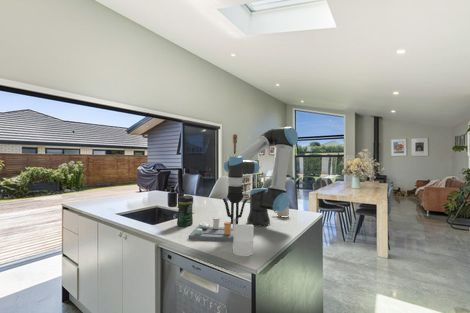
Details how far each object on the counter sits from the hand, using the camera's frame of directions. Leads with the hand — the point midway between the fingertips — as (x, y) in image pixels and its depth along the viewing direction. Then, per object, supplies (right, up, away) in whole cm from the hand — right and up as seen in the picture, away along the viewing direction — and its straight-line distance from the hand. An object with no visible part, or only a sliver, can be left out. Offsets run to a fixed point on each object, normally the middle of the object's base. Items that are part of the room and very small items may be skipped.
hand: (234, 230), depth 125 cm
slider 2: (-4, -2, 0) cm, 4 cm away
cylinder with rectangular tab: (+4, -4, -18) cm, 19 cm away
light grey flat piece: (-17, 0, +11) cm, 21 cm away
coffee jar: (-31, -5, +25) cm, 40 cm away
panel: (-11, -4, +6) cm, 13 cm away
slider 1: (-10, -2, +10) cm, 15 cm away
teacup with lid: (+35, -7, +54) cm, 65 cm away
